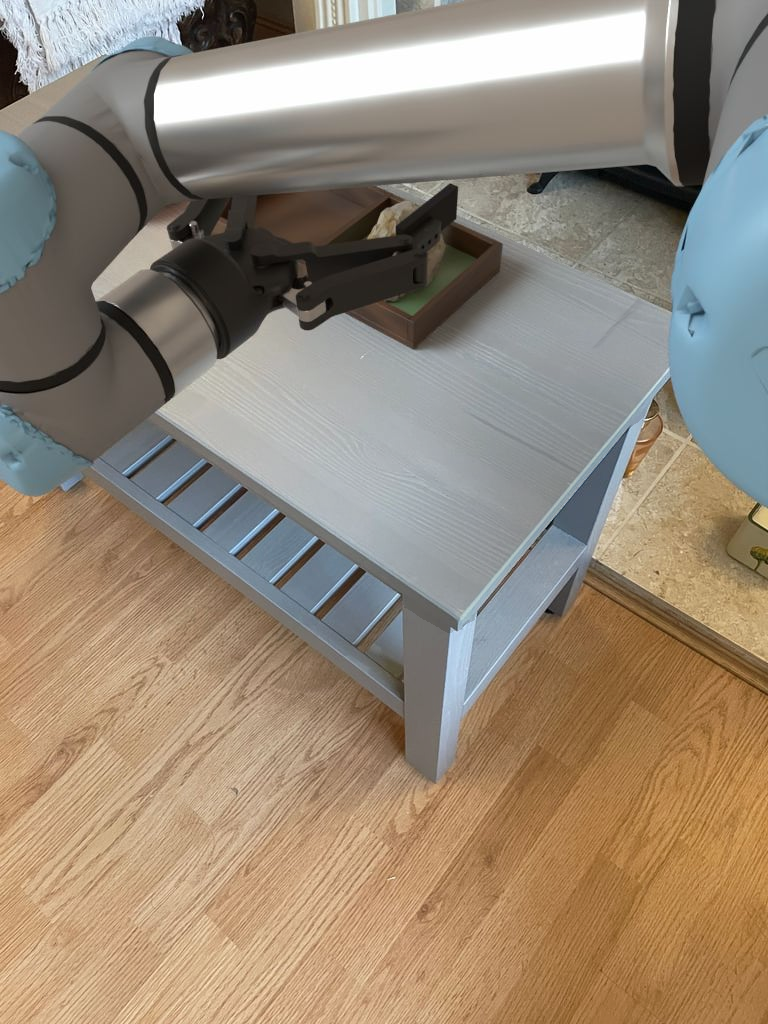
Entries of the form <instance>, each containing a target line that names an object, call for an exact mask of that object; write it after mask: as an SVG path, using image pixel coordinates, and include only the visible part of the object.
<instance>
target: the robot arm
mask: <svg viewBox="0 0 768 1024" xmlns="http://www.w3.org/2000/svg"><path fill="white" fill-rule="evenodd" d="M641 165H642V166H644V165H647V166H648V165H649V166H652V167H656V168H657V169H658V170H659V171H660V172H661V174H663V175H664V176H665V177H666V178H667V179H668V180H669V181H670V182H671V183H672V184H673V185H674V186H675V187H686V186H687V187H688V186H689V187H690V186H701V185H702V187H701V190H700V192H699V194H698V195H697V198H696V200H695V202H694V204H693V206H692V207H691V209H690V211H689V214H688V216H687V219H686V222H685V225H684V227H683V230H682V232H681V236H680V239H679V242H678V246H677V250H676V253H675V257H674V269H673V272H672V274H671V282H670V297H671V298H670V299H671V315H670V320H669V328H668V329H669V331H668V341H667V347H668V348H667V353H668V355H667V356H668V357H667V358H668V367H669V375H670V380H671V386H672V390H673V394H674V398H675V402H676V404H677V407H678V410H679V412H680V415H681V417H682V419H683V422H684V423H685V425H686V427H687V429H688V431H689V433H690V435H691V437H692V438H693V441H695V443H696V445H697V446H698V448H699V449H700V450H701V452H702V453H703V454H704V456H705V457H706V458H707V459H708V461H709V462H710V463H711V464H712V466H714V468H715V469H717V470H718V472H719V473H720V474H721V475H722V476H723V477H724V478H725V479H727V480H728V481H729V482H730V483H731V484H732V485H734V486H735V487H736V488H737V489H738V490H739V491H741V492H742V493H744V494H745V495H746V496H747V497H749V498H750V499H752V500H753V501H755V502H756V503H757V504H759V505H761V506H763V507H764V508H766V509H768V0H462V1H457V2H452V3H451V2H450V3H446V4H442V5H436V6H431V7H427V8H421V9H415V10H410V11H406V12H405V11H404V12H399V13H395V14H390V15H383V16H379V17H375V18H368V19H364V20H358V21H353V22H348V23H343V24H337V25H333V26H328V27H327V26H326V27H322V28H317V29H311V30H307V31H301V32H296V33H291V34H286V35H285V34H284V35H281V36H275V37H269V38H264V39H260V40H259V39H258V40H255V41H249V42H244V43H240V44H239V43H238V44H234V45H228V46H223V47H218V48H213V49H208V50H203V51H197V52H193V50H191V49H189V48H188V47H186V46H185V45H183V44H180V43H175V42H174V41H172V40H169V39H166V38H165V37H163V36H156V35H150V36H144V37H139V38H137V39H135V40H132V41H131V42H129V43H128V44H126V45H125V46H124V47H122V48H120V49H119V50H117V51H115V52H112V53H109V54H108V55H106V56H104V57H102V58H101V59H100V60H99V62H98V63H97V64H96V65H95V66H94V67H93V68H91V70H90V71H89V72H88V74H87V75H86V76H85V77H84V78H82V79H81V80H80V81H79V82H78V83H77V84H75V86H73V87H72V89H70V90H69V91H68V92H66V93H65V95H63V96H62V97H61V98H60V99H59V100H58V101H56V102H55V103H54V104H53V105H52V106H51V107H50V108H49V109H48V110H47V111H45V112H44V113H43V114H42V115H41V116H40V117H39V118H37V120H35V121H34V122H32V124H30V125H28V126H26V127H25V128H24V129H23V130H22V131H20V133H19V134H17V135H15V134H13V133H10V132H8V131H5V130H2V129H0V480H2V481H3V482H4V483H5V484H6V485H7V486H9V487H10V488H11V489H13V490H14V491H16V492H18V493H19V494H22V495H23V496H27V497H32V498H39V497H42V496H45V495H47V494H49V493H51V492H52V491H55V489H57V488H59V487H60V486H62V485H63V484H64V483H66V482H67V481H69V480H71V479H72V478H73V477H75V476H76V475H77V474H79V473H81V472H82V471H83V470H85V469H86V468H87V469H88V468H91V467H92V466H93V465H94V464H95V461H96V460H97V459H98V458H100V457H101V456H103V455H104V454H105V453H107V451H109V450H110V449H111V448H112V447H114V446H115V445H116V444H117V443H119V442H120V441H121V440H123V438H125V437H126V436H127V435H128V434H130V433H131V432H132V431H133V430H135V429H136V428H138V427H139V426H140V425H141V424H142V423H144V422H145V421H146V420H147V419H149V417H151V416H152V415H154V414H155V413H156V412H157V411H158V410H160V409H161V408H162V407H164V406H165V405H167V403H169V402H170V401H171V400H172V399H174V398H175V397H176V396H177V395H179V394H181V392H183V391H184V390H185V389H186V388H188V387H189V386H190V385H192V384H193V383H194V382H196V381H197V380H198V379H199V378H200V377H202V376H203V375H204V374H206V373H207V372H208V371H209V370H211V369H212V368H213V367H214V366H215V364H216V362H217V360H222V359H224V358H225V359H226V357H228V356H229V355H230V354H232V353H233V352H234V351H235V350H237V349H238V348H240V347H241V346H242V345H243V344H244V343H246V342H247V341H248V340H249V339H251V338H252V337H253V336H254V335H256V333H257V332H258V330H259V329H260V327H261V326H262V323H263V322H264V320H265V319H266V318H267V316H268V315H270V314H271V313H273V312H276V311H279V310H282V309H285V308H286V309H287V310H289V311H290V312H291V313H293V314H294V315H296V317H298V323H299V324H298V325H299V328H300V329H301V330H303V331H306V332H307V331H313V330H315V329H316V328H318V327H319V326H321V325H322V324H324V323H325V322H326V321H328V320H330V319H331V318H332V317H335V316H339V315H342V314H346V313H345V312H348V311H351V310H354V309H358V308H361V307H364V306H367V305H370V304H373V303H376V302H379V301H382V300H385V299H388V298H392V297H395V296H398V295H401V294H404V293H407V292H410V291H413V290H416V289H419V288H422V287H424V286H426V285H427V270H428V253H427V252H428V251H429V250H430V249H431V248H432V247H433V246H435V245H436V244H437V243H438V242H439V240H440V238H441V231H442V230H443V229H445V228H446V227H447V226H448V225H450V224H451V223H452V222H453V221H454V222H455V221H456V220H457V217H458V198H459V186H458V185H456V184H453V183H451V182H450V183H448V184H447V185H445V186H444V187H443V188H442V189H441V190H439V191H438V192H437V193H436V194H435V195H433V196H432V197H430V198H429V199H428V200H427V201H425V202H424V203H423V204H421V205H419V206H420V207H419V208H418V209H417V210H415V211H414V212H413V213H412V214H410V215H409V216H408V217H406V218H405V219H404V220H403V221H401V222H400V223H399V224H398V225H396V226H395V228H396V235H395V236H388V237H380V238H373V239H366V240H359V241H352V242H344V243H337V244H330V245H323V246H314V245H313V244H312V243H311V242H299V243H292V242H290V241H288V240H286V239H283V238H279V237H276V236H274V235H272V234H271V233H270V232H269V231H268V230H266V229H264V228H262V227H259V228H258V229H255V228H254V220H255V211H256V202H257V195H267V196H269V195H270V194H278V193H291V192H304V191H316V190H329V189H341V188H354V187H367V186H377V187H379V186H390V185H402V184H403V185H404V184H414V183H428V182H429V183H430V182H441V181H453V180H465V179H466V180H467V179H478V178H491V177H503V176H504V177H505V176H516V175H529V174H542V173H553V172H556V173H557V172H566V171H567V172H568V171H579V170H593V169H604V168H605V169H607V168H616V167H617V168H618V167H629V166H641ZM231 197H233V198H232V205H231V210H229V212H228V219H227V226H226V229H225V232H224V233H220V234H214V235H211V233H212V231H213V229H214V227H215V226H216V224H217V222H218V220H219V218H220V216H221V215H222V213H223V211H224V209H225V207H226V205H227V204H228V202H229V200H230V198H231ZM188 202H189V203H188ZM175 203H176V204H177V203H188V205H187V206H186V207H185V210H184V212H182V213H181V214H180V215H178V216H177V217H176V218H175V219H173V220H172V221H171V222H170V223H168V224H167V225H166V231H167V235H168V238H169V241H170V245H171V250H170V251H168V252H167V253H166V254H164V255H163V256H161V257H159V258H158V259H156V260H154V261H153V263H151V265H150V267H149V268H147V269H140V270H138V271H137V272H136V273H134V274H133V275H131V276H130V277H128V278H127V279H126V280H124V281H123V282H122V283H120V284H118V285H117V286H116V287H114V288H113V289H112V290H110V291H109V292H107V293H106V294H104V295H103V296H101V297H100V298H98V299H97V300H96V298H95V295H94V293H93V289H92V286H93V284H94V282H95V281H96V280H97V279H98V278H99V277H100V276H101V275H102V274H103V273H104V271H105V270H106V269H107V268H108V267H109V266H110V265H111V264H112V263H113V261H114V260H115V259H116V258H117V257H118V256H119V255H120V253H122V252H123V250H124V249H125V248H126V247H127V246H128V245H129V243H131V241H133V240H134V238H135V237H136V236H137V235H138V234H139V233H140V232H141V231H142V230H143V229H145V227H146V226H147V225H148V224H149V222H150V221H151V220H152V219H153V218H154V217H155V216H156V215H157V213H159V212H160V210H161V209H163V208H164V207H166V206H169V205H172V204H175ZM395 252H396V255H395V256H393V254H394V253H395ZM298 260H304V261H305V267H306V275H305V276H304V277H301V278H297V276H298Z"/></svg>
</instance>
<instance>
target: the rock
mask: <svg viewBox="0 0 768 1024" xmlns="http://www.w3.org/2000/svg"><path fill="white" fill-rule="evenodd" d="M416 205H417V204H416V202H415V201H411V200H408V201H403V202H401V203H398V204H396V205H394V206H392V207H391V208H390V207H389V208H386V209H385V210H384V211H382V212H381V214H380V217H379V219H378V222H377V224H376V225H375V226H374V227H373V229H372V231H371V233H370V235H369V236H368V238H367V239H373V238H380V237H388V236H395V235H396V228H395V226H396V225H398V224H399V223H400V222H401V221H403V220H404V219H405V218H406V217H408V216H409V215H410V214H412V213H413V212H414V211H415V210H417V209H418V208H419V207H420V206H421V205H419V206H416ZM444 251H445V243H444V240H443V237H442V234H441V238H440V240H439V242H438V243H437V244H436V245H435V246H433V247H432V248H431V249H430V250H429V251H428V252H427V253H428V270H427V285H426V286H424V287H427V286H429V285H430V283H431V281H432V279H433V277H434V276H435V275H436V273H437V271H436V269H437V268H439V264H440V262H441V259H442V257H443V254H444ZM395 255H396V252H395V253H394V254H393V256H395ZM419 289H421V288H419ZM419 289H416V290H419ZM413 291H415V290H413ZM413 291H410V292H408V293H411V292H413ZM404 294H406V293H404ZM404 294H401V295H398V296H395V297H392V298H388V299H385V300H383V301H385V302H386V301H388V300H390V301H392V302H393V301H396V300H398V299H399V298H401V297H403V296H404Z"/></svg>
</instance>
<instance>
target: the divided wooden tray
mask: <svg viewBox="0 0 768 1024" xmlns="http://www.w3.org/2000/svg"><path fill="white" fill-rule="evenodd" d="M232 198H233V197H231V198H230V200H229V202H228V204H227V205H226V207H225V209H224V211H223V213H222V215H221V216H220V218H219V220H218V222H217V224H216V226H215V227H214V229H213V231H212V233H211V235H214V234H220V233H224V232H225V229H226V226H227V219H228V212H229V210H231V205H232ZM403 201H409V200H408V199H405V198H403V197H400V196H398V195H396V194H394V193H392V192H390V191H388V190H385V189H384V188H381V187H379V186H367V187H354V188H341V189H329V190H316V191H304V192H291V193H278V194H270V195H269V196H267V195H257V202H256V211H255V220H254V228H255V229H258V228H259V227H262V228H264V229H266V230H268V231H269V232H270V233H271V234H272V235H274V236H276V237H279V238H283V239H286V240H288V241H290V242H292V243H299V242H311V243H312V244H313V245H314V246H323V245H330V244H337V243H344V242H352V241H359V240H366V239H367V238H368V236H369V235H370V233H371V231H372V229H373V227H374V226H375V225H376V224H377V222H378V219H379V217H380V214H381V212H382V211H384V210H385V209H386V208H389V207H390V208H391V207H392V206H394V205H396V204H398V203H401V202H403ZM416 206H420V205H418V204H416ZM441 234H442V237H443V240H444V243H445V251H444V254H443V257H442V259H441V262H440V264H439V268H437V269H436V271H437V273H436V275H435V276H434V277H433V279H432V281H431V283H430V285H429V286H427V287H422V288H421V289H419V290H415V291H413V292H411V293H408V292H407V293H406V294H404V296H403V297H401V298H399V299H398V300H396V301H393V302H392V301H390V300H388V301H386V302H385V301H383V300H382V301H379V302H376V303H373V304H370V305H367V306H364V307H361V308H358V309H354V310H351V311H348V312H345V313H344V314H346V315H348V316H350V317H352V318H354V319H355V320H357V321H359V322H361V323H363V324H364V325H366V326H368V327H370V328H372V329H374V330H375V331H378V332H380V333H381V334H383V335H386V336H387V337H389V338H390V339H393V340H394V341H396V342H398V343H400V344H402V345H403V346H406V347H407V348H409V349H411V350H415V349H417V347H418V346H420V344H422V343H423V342H424V341H426V339H427V338H428V337H429V336H430V335H432V334H433V333H434V332H435V331H436V330H437V329H438V328H439V327H441V325H443V323H444V322H446V321H447V320H448V319H449V318H450V317H452V315H453V314H454V313H456V312H457V311H458V310H459V309H460V308H461V307H462V306H463V305H464V304H465V303H466V302H468V300H470V299H472V297H473V296H474V295H475V294H476V293H477V292H478V291H479V290H481V289H482V288H483V287H484V286H485V285H486V284H487V283H488V282H489V281H491V280H492V279H493V278H494V277H495V276H496V275H497V274H498V273H499V272H500V271H501V263H502V254H503V246H504V244H503V242H500V241H499V240H498V241H497V240H496V239H494V238H492V237H490V236H488V235H485V234H482V233H480V232H478V231H476V230H474V229H472V228H470V227H468V226H465V225H463V224H461V223H459V222H457V221H455V220H454V221H453V222H452V223H451V224H450V225H448V226H447V227H446V228H445V229H443V230H442V231H441ZM305 275H306V267H305V261H304V260H298V276H297V278H301V277H304V276H305Z"/></svg>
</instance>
